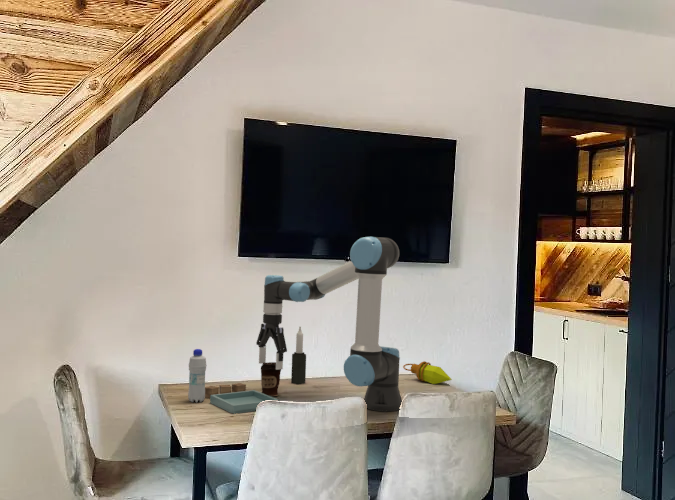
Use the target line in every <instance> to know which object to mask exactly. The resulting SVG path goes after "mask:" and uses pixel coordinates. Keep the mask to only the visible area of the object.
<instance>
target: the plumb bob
mask: <svg viewBox="0 0 675 500" xmlns="http://www.w3.org/2000/svg"><path fill="white" fill-rule="evenodd" d="M406 366H411V367H410V368H409V369H408V368H406ZM402 368H403V369H404V370H405V371H408V372H409V371H410V373H411V374H414V375H415V376H416V379H418V381H422V382H424V383H430V384H432V385H436V384H440V383H444V382H449V381H453V379H452V378H451V377H450V376H449V375H448V374H447V373H446V371H445V370H444V369H443V368H442V367H440V366H436V365H432V363H430V362H427V361H425V360H423V361H421V362H419V364H417V363H405V364H404V365H403V366H402Z"/></svg>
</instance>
